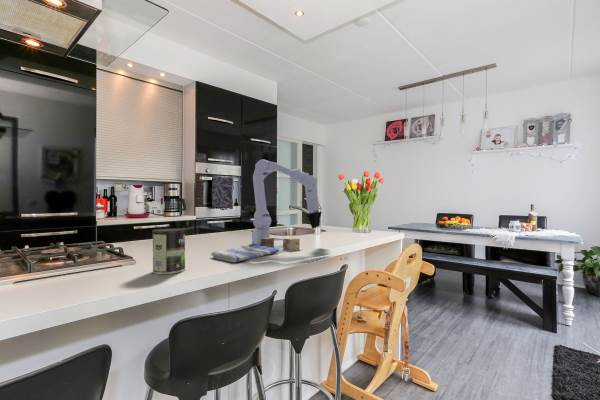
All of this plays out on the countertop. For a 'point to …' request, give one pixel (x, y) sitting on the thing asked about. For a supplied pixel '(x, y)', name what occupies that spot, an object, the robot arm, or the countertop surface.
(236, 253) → the dish towel
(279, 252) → the board
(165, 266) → the coffee can
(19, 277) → the countertop surface
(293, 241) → the oak base block
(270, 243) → the walnut block
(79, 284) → the countertop surface
